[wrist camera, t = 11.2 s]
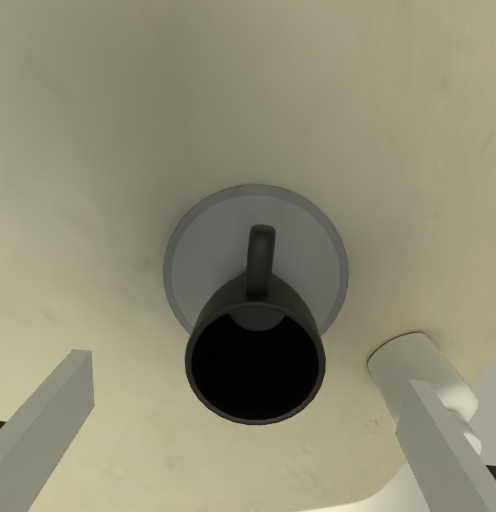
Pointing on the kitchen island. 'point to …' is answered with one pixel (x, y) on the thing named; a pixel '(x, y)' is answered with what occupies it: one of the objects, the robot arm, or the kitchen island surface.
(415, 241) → the kitchen island surface
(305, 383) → the mug
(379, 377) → the eye dropper bottle
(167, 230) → the kitchen island surface
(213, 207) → the round gray plate
